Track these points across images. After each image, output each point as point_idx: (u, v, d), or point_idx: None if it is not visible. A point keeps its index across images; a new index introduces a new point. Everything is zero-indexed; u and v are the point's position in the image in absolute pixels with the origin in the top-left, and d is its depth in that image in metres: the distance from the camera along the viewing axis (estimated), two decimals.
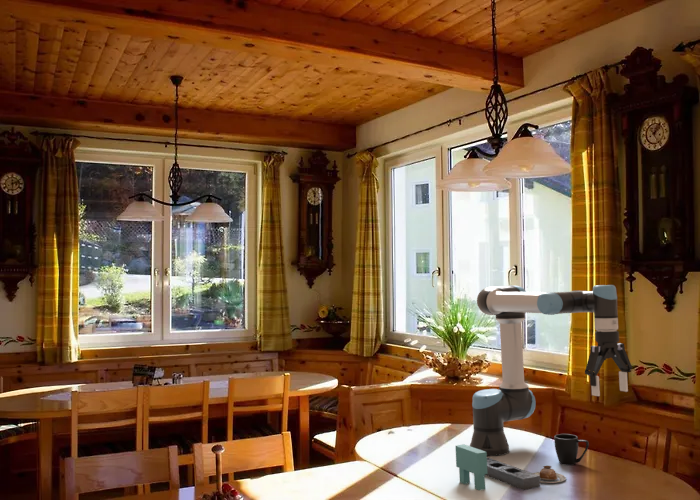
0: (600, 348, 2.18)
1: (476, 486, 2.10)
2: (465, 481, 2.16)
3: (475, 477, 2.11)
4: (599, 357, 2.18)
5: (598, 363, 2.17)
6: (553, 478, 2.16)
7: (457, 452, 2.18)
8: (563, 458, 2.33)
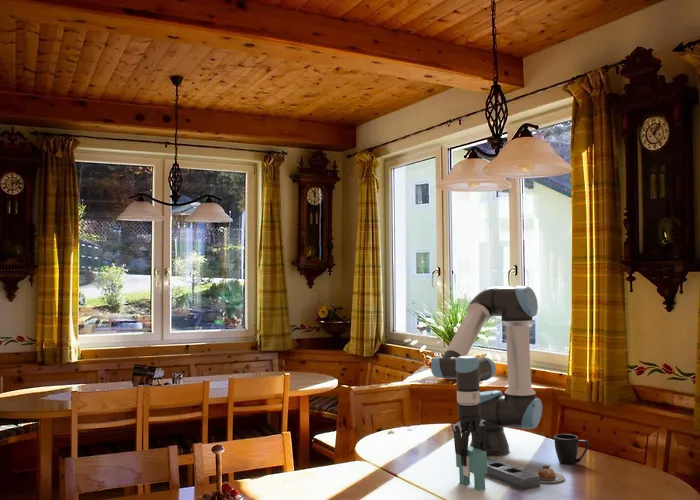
0: (460, 424, 2.13)
1: (476, 486, 2.10)
2: (465, 481, 2.16)
3: (475, 477, 2.11)
4: (463, 434, 2.14)
5: (464, 442, 2.13)
6: (552, 478, 2.16)
7: None
8: (563, 458, 2.33)
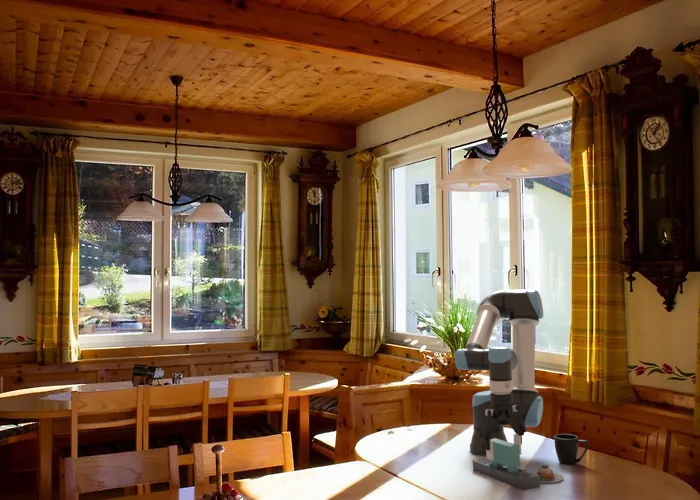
0: (493, 411, 2.19)
1: None
2: None
3: (508, 470, 2.17)
4: (493, 420, 2.20)
5: (492, 427, 2.18)
6: (550, 478, 2.17)
7: None
8: (563, 458, 2.33)
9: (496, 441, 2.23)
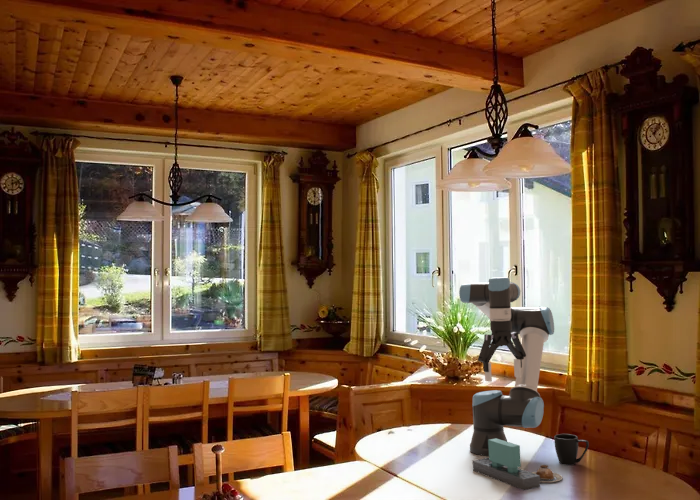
0: (493, 336, 2.31)
1: None
2: None
3: (508, 470, 2.17)
4: (492, 345, 2.32)
5: (491, 350, 2.30)
6: (550, 477, 2.17)
7: (490, 446, 2.25)
8: (563, 458, 2.33)
9: (497, 441, 2.23)
